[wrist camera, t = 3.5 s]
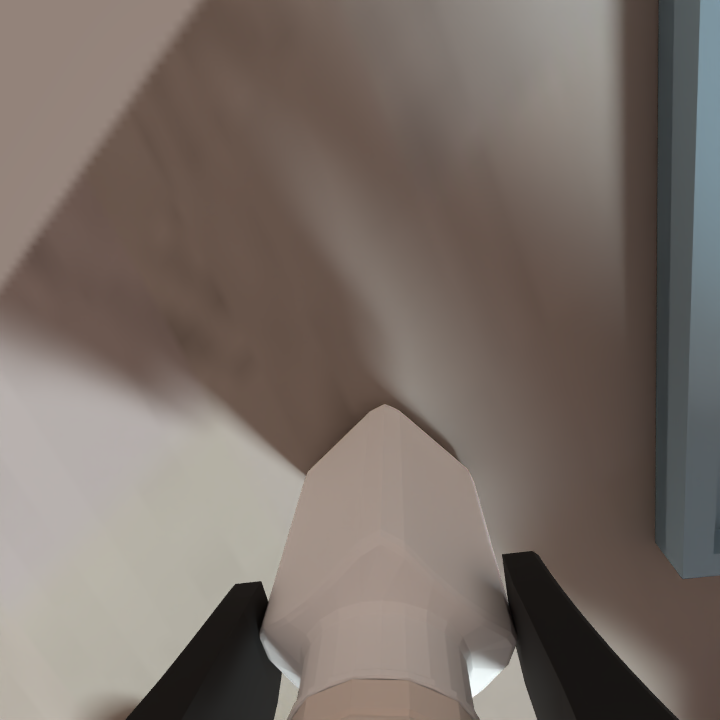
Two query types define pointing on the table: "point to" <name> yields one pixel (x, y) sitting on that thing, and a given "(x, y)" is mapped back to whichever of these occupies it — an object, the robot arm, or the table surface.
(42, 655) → the table surface
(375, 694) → the pepper shaker
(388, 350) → the table surface
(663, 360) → the tray
